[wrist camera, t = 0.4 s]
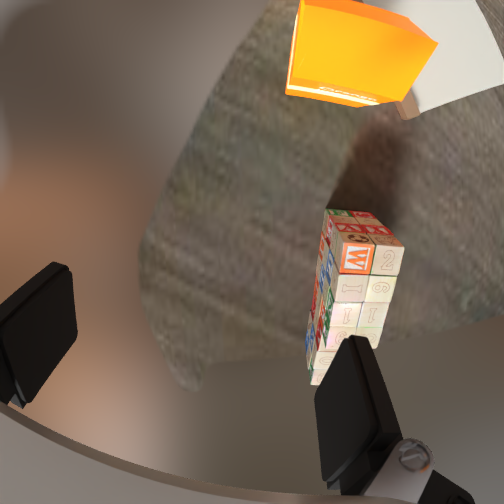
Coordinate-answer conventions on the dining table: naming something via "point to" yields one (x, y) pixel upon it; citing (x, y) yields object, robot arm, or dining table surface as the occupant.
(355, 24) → the orange juice
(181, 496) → the robot arm
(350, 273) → the stack of blocks
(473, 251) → the dining table surface
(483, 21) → the mat
